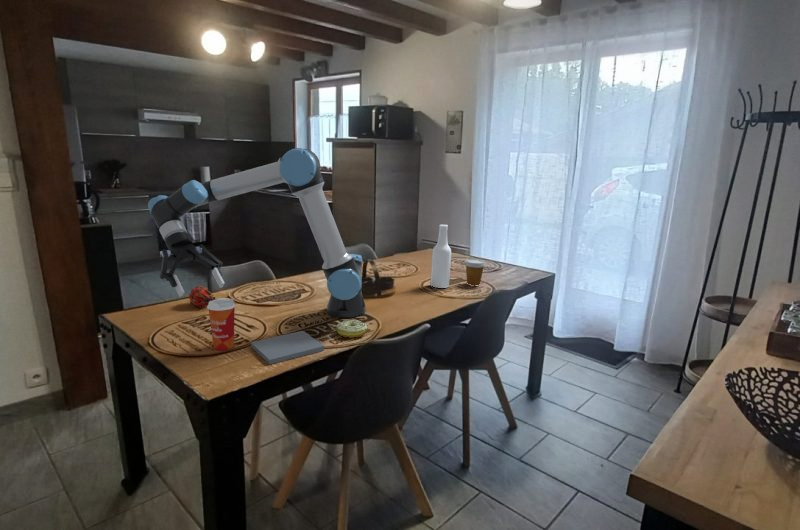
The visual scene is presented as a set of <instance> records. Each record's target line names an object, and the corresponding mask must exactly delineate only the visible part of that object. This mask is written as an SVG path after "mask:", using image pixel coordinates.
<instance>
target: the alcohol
mask: <svg viewBox="0 0 800 530" xmlns="http://www.w3.org/2000/svg"><path fill="white" fill-rule="evenodd" d="M438 226H439V227H438V229H439V230H438V236H437V243H436V245H434V246H433V248H432V257H431V272H430V273H431V274H430V276H431V277H430V286H431V287H432V286H433V287H438V288H446V287H448V286H450V275H451V263H452V248H451V247H450V246H449V243H448V229H449V228H448V226H449V225H448V224H439V225H438ZM433 287H432V288H433ZM448 288H449V287H448ZM446 289H447V288H446Z"/></svg>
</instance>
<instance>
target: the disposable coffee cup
mask: <svg viewBox="0 0 800 530" xmlns="http://www.w3.org/2000/svg"><path fill="white" fill-rule="evenodd" d="M464 264H465V269H466V273H465V274H466V275H465V276H466V284H467V283H468V284H471V285H479V284H480V285H481V281H482V276H483V271H484V267H485V266H486V264H485V261H484V260H483V259H482V260H481V259H476V258H475V259H474V258H472V259H471V258H470V259H466V261H465V263H464Z"/></svg>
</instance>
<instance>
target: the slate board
mask: <svg viewBox="0 0 800 530" xmlns="http://www.w3.org/2000/svg"><path fill="white" fill-rule="evenodd" d="M250 347H251V348H252V349H253V350H254V351H255V352H256V353H257V354H258V355H259V356H260V357H261V358H262V359H263V360H264V361H265V362H266V363H267V364H268V365H273V364H274V365H275V364H278V363H281V362H285V361H288V360H292V359H296V358H300V357H304V356H309V355H312V354H315V353H319V352H323V351H325V345H323V344H322V343H320V342H319V341H318V340H317V339H315V338H314V337H312V336H311V335H309V333H306V332H305V331H304V330H300V331H296V332H291V333H286V334H282V335H278V336H273V337H268V338H264V339H260V340H255V341H250Z"/></svg>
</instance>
